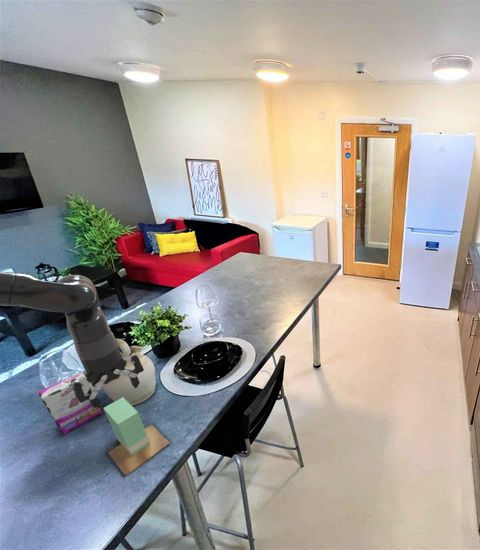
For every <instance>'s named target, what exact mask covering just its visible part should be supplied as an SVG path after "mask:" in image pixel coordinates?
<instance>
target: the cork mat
mask: <svg viewBox="0 0 480 550" xmlns="http://www.w3.org/2000/svg"><path fill="white" fill-rule="evenodd" d="M144 429H145V431H146V434H147V436H148V438H149V440H150V444H149V445H148V446H146V447H145V448H144V449H142V450H141V451H139V452H138V453H136V454H135V455H134V456H131V455H130V453H129V452H128V451H127V450H126V449H125V448H124V446H123V445H122V444H121V443H120V444H119V445H117V446H116V447H114V448H113V449H111V450H110V451H108V452H107V454H108V455H109V457H110V458H111V460H112V461H113V462H114V463H115V465H116V466H117V467H118V469H119V470H120V471H121V472H122V474H123V475H124V477H127V476H128V475H129V474H130V473H133V471H136V469H138V468H139V467H140V466H142V465H143V464H145V463H146V462H148V461H149V460H150V459H151V458H153V457H154V456H156V455H157V454H159V452H161V451H162V450H163V449H165V448H166V447H168V446H170V445H171V442H170V441H169V440H168V439H167V438H166V437H165V436H164V435H163V434H162V433H161V432H160V431H159V429H157V427H155V426H154V425H153V424H149V425H148V426H146V427H144Z"/></svg>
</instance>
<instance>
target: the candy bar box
mask: <svg viewBox="0 0 480 550" xmlns="http://www.w3.org/2000/svg"><path fill="white" fill-rule="evenodd" d="M85 375H86V372H85V371H84V370H83V371H79V372H78V373H76V374H74V375H71V376H69V377H67V378H64V379H63V380H60V381H58V382H55V383H54V384H51V385H49V386H47V387H44V388H43V389H41V390H38V391H37V394H38V396H39V398H40V400H41V401H42V403H43V405H44V406H45V408H46V410H47V411H48V413H49V415H50V416H51V418H52V419H53V421H54V423H55V425H56V427H57V428H58V430H59V431H60V432H61V434H62V435H63V436H64V435H67V434H68V433H70V432H71V431H74V430H75V429H77V428H79V427H80V426H82V425H84V424H86V423H88V422H89V421H91V420H94V419H96V418H97V417H99V416H101V415H102V414H104V413H105V411H104V409H103V408H104V406H103V404H102V402H101V399H100V398H99V396H98V394H97V395H96V396H97V398H98V400H99V402H100V404H101V406H102V407H100V408H97V407H96V408H94V407H93V406H92V405H91V403H90V401H89V400H85V401H84V402H82V403H81V402H79V400H78V399H77V398H76V396H75V393H74V390H73V388H72V385H71V380H73V379H77V380H78V379H80V378H83V377H85ZM90 383H91V382H89V381H86V382H85V385H84V387H82V390H83V392H84V393H87V391H88V389H89V385H90Z"/></svg>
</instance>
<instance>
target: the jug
mask: <svg viewBox="0 0 480 550" xmlns="http://www.w3.org/2000/svg"><path fill="white" fill-rule="evenodd" d="M115 340H116V341H117V345H118V348H119V350H120V353H121V356H122V358H123V359H124V358H126V357H128V356H129V354H130V353H134V354H136V355H137V356H138V358H139V360H140V362H141V364H142V366H143V369H144V371H143V372H140V373H139V374H138V375H137V377H138V379H139V382H140V383H139V385H138V387H137V388H134V387H133V385H132V383H131V381H130V378H129V377H126V376H123V375H121V376H119V378H118V379H115V380H112V381H111V382H109V383H107V384H103V385H102V387H101V389H102V391H104V393H105V394H106V395H107V396H108V397H109V399H111V400H112V401H113V402H115V401H117V400H119V399H121V398H122V397H123V398H124V399H125V400H126V401H127V402H128V403H129V404H130V405H131V406H132V407H133V406H137V405H139V404H141V403H144V402H146V401H147V400H148V399H149V398H151V396H153V394H154V393H155V391H156V385H157V381H156V368H155V364H154V363H153V361H152V360H151V359H150V358H149V357H148V356H146V355H144V354H142V353H141V352H142V350H143V349H144V347H143V346H141V345H131V346H129V344H128V343H127V342H126V341H125V340H124V339H121V338H115ZM125 368H127V369H130V370H133V369H135V367H134V365H133V363H130V362H127V364H126V366H125Z"/></svg>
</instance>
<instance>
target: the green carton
mask: <svg viewBox="0 0 480 550" xmlns="http://www.w3.org/2000/svg"><path fill="white" fill-rule="evenodd" d="M103 409H104V411H105V412H104V413H105V415H106V418H107V420H108V422H109V425H110V426H111V428H112V431H113V433H114V435H115V437H116V439H117V440H118V442H119V443H120V444H122V445H123V446H124V448H125V449H126V450H127V451H128V452H129V453H130V455H131V456H134V455H135V454H136V453H138V452H139V451H141V450H142V449H144V448H145V447H146V446H148V445H149V444H150V440H149V438H148V436H147V434H146V431H145V426H144V424H143V421H142V419H141V417H140V414H139V411H138V410H136V409H135V408H134V407H133V406H131V405H130V404H129V403H128V402H127V401H126V400H125V399H124V398H123V397H122V398H121V399H119V400H117V401H115V402H114V401H113V402H112V403H110V404H108V405H106V406H103Z"/></svg>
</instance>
